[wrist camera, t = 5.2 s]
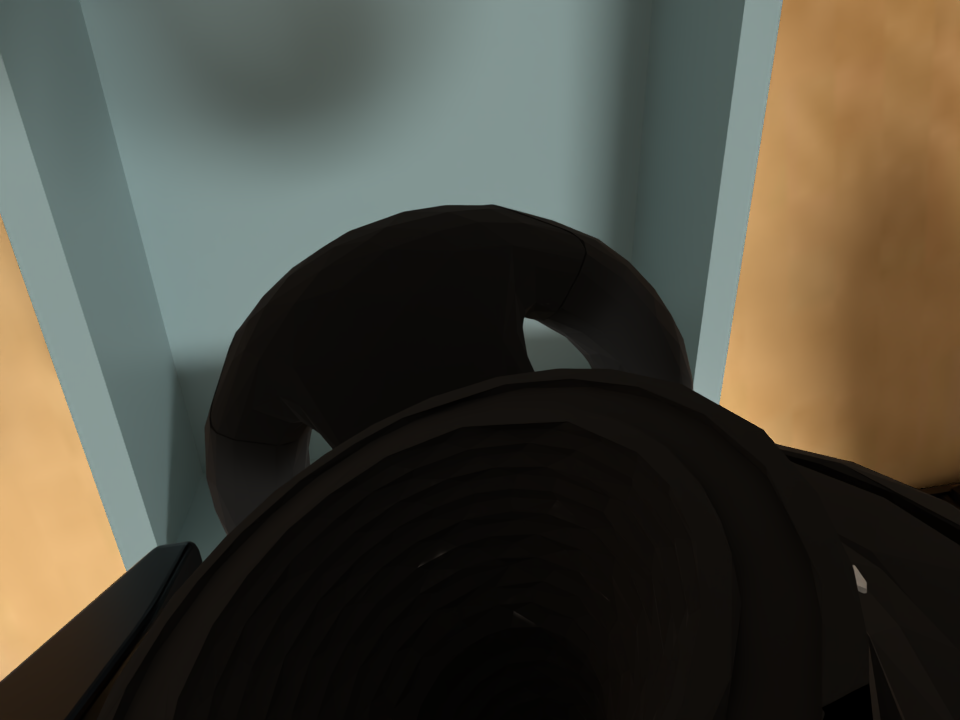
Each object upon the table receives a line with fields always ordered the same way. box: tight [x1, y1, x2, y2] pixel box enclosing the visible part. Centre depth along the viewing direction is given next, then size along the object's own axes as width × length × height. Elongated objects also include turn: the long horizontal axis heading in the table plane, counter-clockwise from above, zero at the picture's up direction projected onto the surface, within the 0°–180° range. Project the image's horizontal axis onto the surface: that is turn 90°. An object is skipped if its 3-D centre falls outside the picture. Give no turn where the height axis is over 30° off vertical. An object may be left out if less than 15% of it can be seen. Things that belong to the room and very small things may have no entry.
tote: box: [0, 0, 783, 571], centre depth 13 cm, size 24×15×5 cm, turn 1°
